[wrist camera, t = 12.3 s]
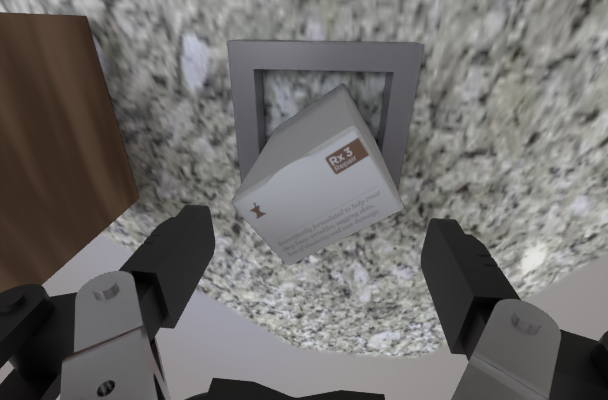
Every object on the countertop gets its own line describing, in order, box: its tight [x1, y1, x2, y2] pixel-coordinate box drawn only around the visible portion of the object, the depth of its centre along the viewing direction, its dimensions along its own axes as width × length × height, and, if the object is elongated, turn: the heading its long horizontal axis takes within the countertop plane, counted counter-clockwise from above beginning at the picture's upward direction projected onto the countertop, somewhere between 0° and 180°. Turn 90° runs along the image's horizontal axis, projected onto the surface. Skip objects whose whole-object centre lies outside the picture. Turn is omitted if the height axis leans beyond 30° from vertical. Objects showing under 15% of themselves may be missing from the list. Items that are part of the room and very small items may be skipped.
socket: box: [227, 40, 425, 215], centre depth 22 cm, size 12×12×2 cm
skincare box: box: [232, 84, 404, 266], centre depth 18 cm, size 6×4×12 cm
